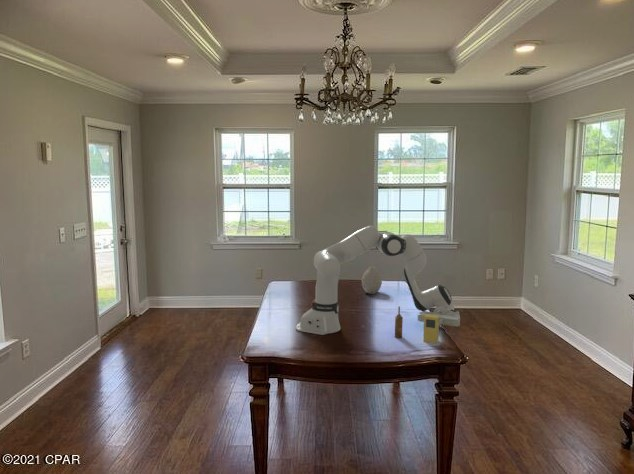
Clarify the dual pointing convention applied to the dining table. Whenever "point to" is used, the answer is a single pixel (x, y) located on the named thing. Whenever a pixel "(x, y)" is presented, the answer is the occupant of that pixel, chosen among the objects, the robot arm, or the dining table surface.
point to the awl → (398, 324)
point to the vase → (371, 280)
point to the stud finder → (431, 328)
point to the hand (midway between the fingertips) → (435, 323)
